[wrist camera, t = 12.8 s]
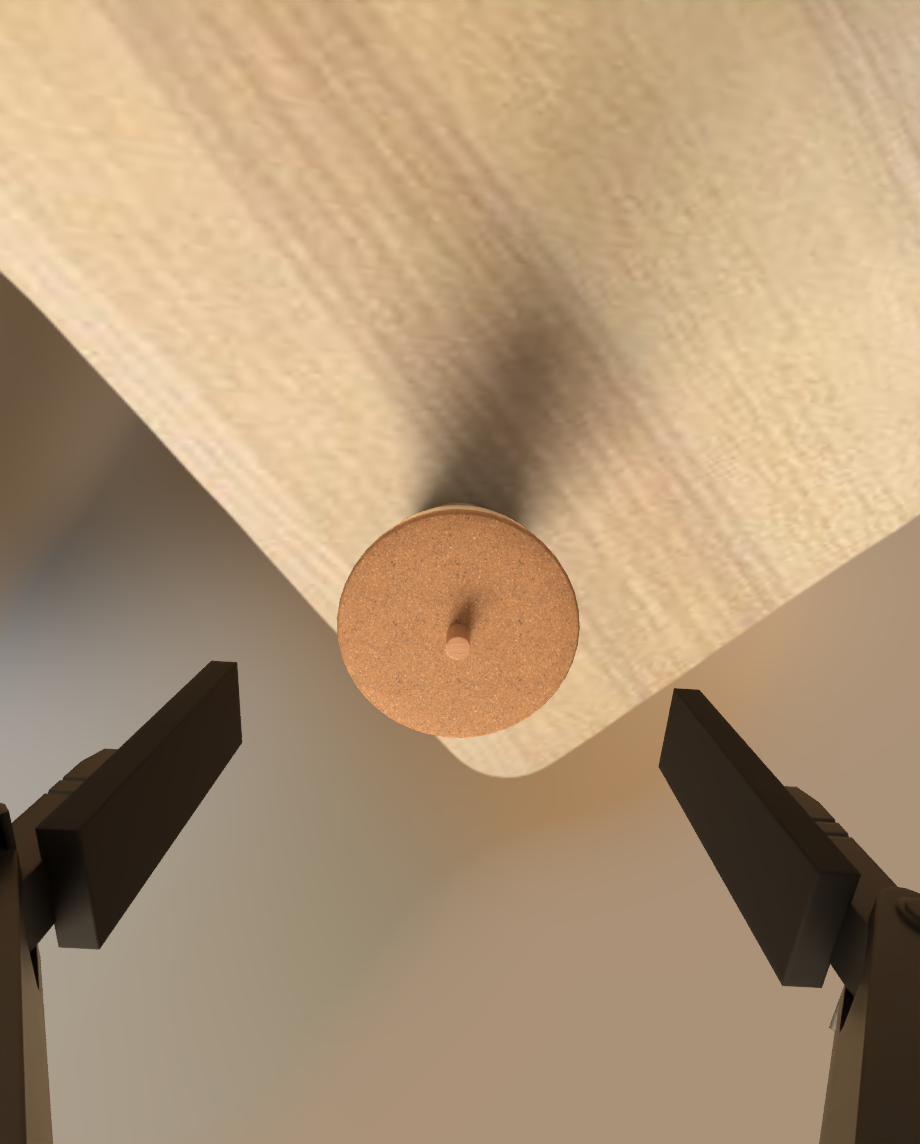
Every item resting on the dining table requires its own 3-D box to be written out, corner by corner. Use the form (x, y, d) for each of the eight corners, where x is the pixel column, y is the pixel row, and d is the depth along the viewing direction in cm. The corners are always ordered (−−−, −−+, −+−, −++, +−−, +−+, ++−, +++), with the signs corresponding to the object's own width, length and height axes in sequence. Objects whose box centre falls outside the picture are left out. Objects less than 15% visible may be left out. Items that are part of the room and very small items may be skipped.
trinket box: (549, 663, 32) (586, 757, 23) (374, 668, 32) (340, 765, 23) (551, 486, 29) (593, 513, 20) (358, 493, 29) (312, 524, 20)
